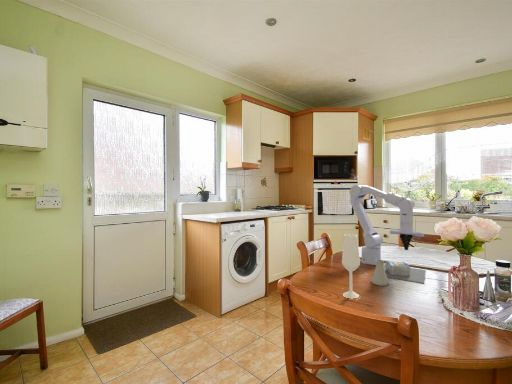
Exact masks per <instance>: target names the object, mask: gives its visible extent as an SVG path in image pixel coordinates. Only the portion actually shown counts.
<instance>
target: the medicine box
mask: <svg viewBox="0 0 512 384" xmlns="http://www.w3.org/2000/svg"><path fill="white" fill-rule="evenodd" d="M385 264H386V270H387V271H388V272H389V273H390V274H391V275H404V276H410V268H411V266H410V265H409V264H408V263H406V262H405V261H394V260H393V261H392V260H391V261H390V260H387V261H385Z"/></svg>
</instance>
